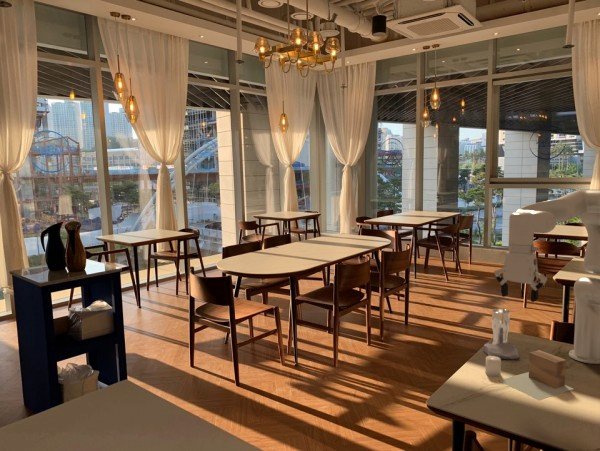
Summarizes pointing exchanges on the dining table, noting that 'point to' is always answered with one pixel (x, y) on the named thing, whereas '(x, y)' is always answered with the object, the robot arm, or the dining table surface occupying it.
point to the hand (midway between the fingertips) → (519, 298)
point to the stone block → (501, 350)
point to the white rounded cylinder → (493, 366)
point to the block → (547, 369)
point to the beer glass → (500, 325)
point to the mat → (533, 386)
